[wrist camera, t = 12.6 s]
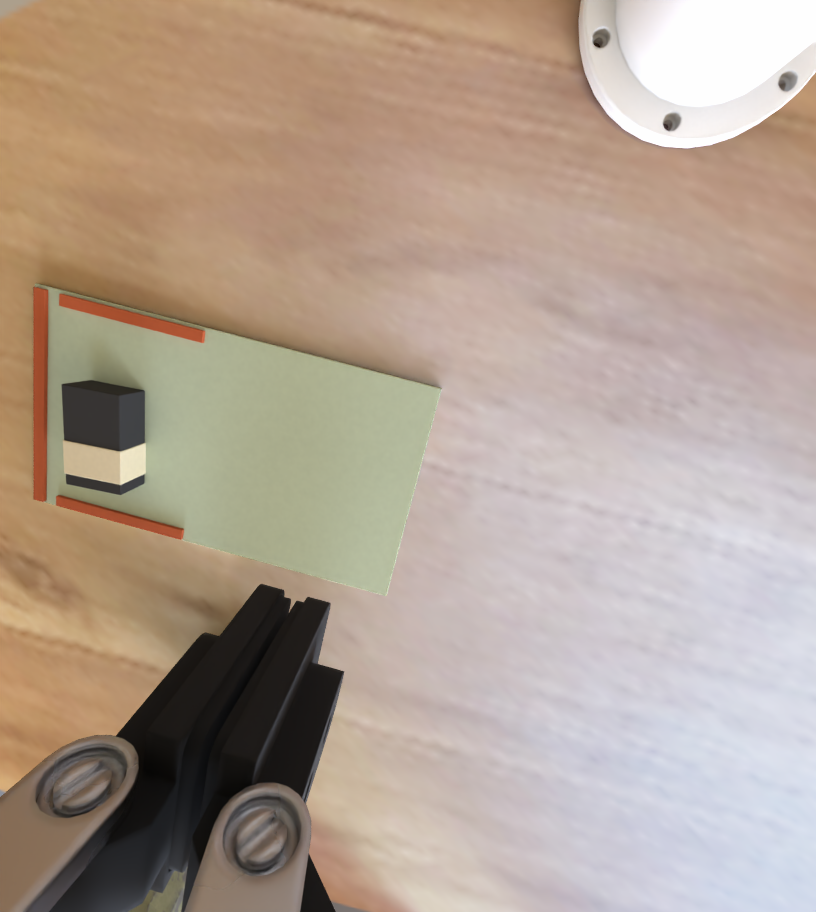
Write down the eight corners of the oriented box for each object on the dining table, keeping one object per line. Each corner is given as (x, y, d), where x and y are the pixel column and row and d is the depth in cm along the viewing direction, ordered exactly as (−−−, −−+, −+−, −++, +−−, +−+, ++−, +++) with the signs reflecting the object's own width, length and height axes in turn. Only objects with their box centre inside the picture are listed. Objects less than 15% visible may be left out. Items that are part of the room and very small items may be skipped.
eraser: (90, 379, 31) (59, 383, 29) (146, 390, 31) (119, 395, 29) (93, 473, 33) (64, 484, 31) (146, 483, 33) (120, 496, 31)
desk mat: (39, 283, 30) (30, 282, 30) (441, 388, 29) (441, 389, 29) (39, 497, 35) (30, 501, 34) (387, 593, 34) (385, 598, 33)
